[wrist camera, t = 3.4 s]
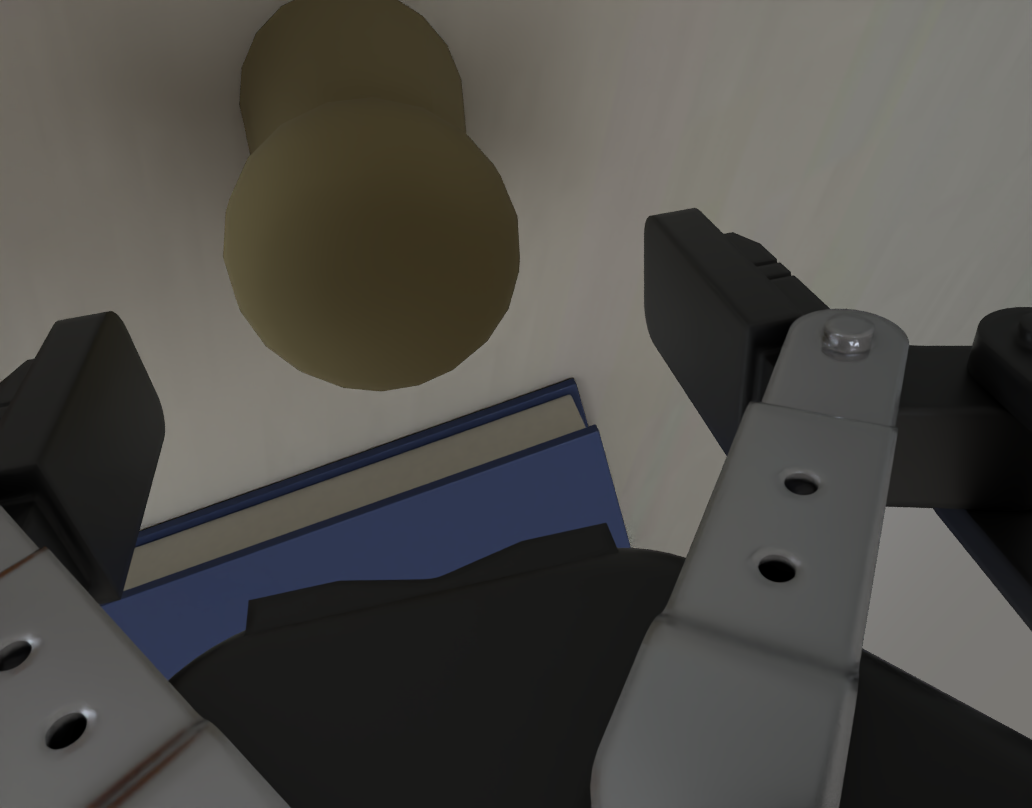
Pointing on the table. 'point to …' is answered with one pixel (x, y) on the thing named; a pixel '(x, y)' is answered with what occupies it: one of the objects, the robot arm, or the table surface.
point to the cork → (365, 200)
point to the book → (371, 521)
